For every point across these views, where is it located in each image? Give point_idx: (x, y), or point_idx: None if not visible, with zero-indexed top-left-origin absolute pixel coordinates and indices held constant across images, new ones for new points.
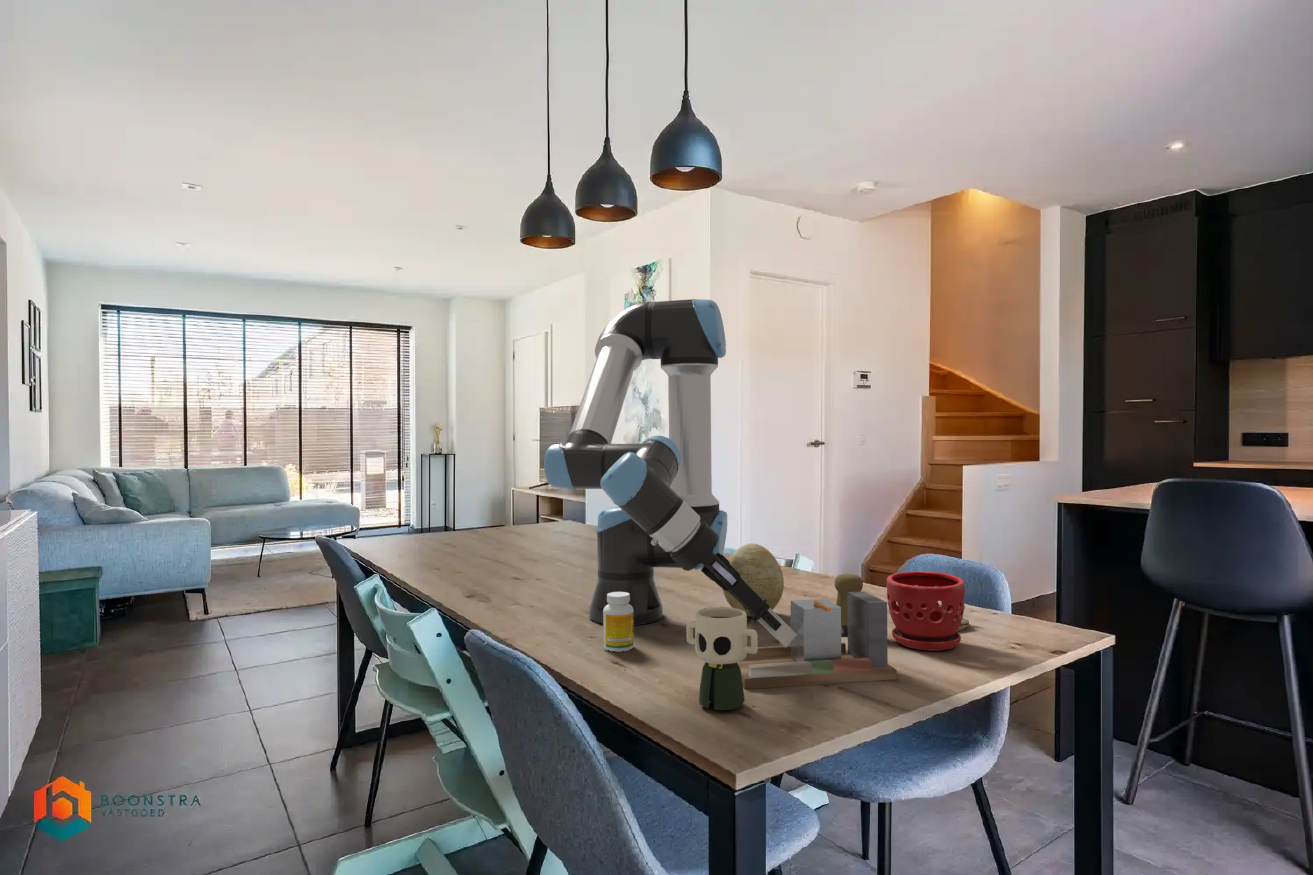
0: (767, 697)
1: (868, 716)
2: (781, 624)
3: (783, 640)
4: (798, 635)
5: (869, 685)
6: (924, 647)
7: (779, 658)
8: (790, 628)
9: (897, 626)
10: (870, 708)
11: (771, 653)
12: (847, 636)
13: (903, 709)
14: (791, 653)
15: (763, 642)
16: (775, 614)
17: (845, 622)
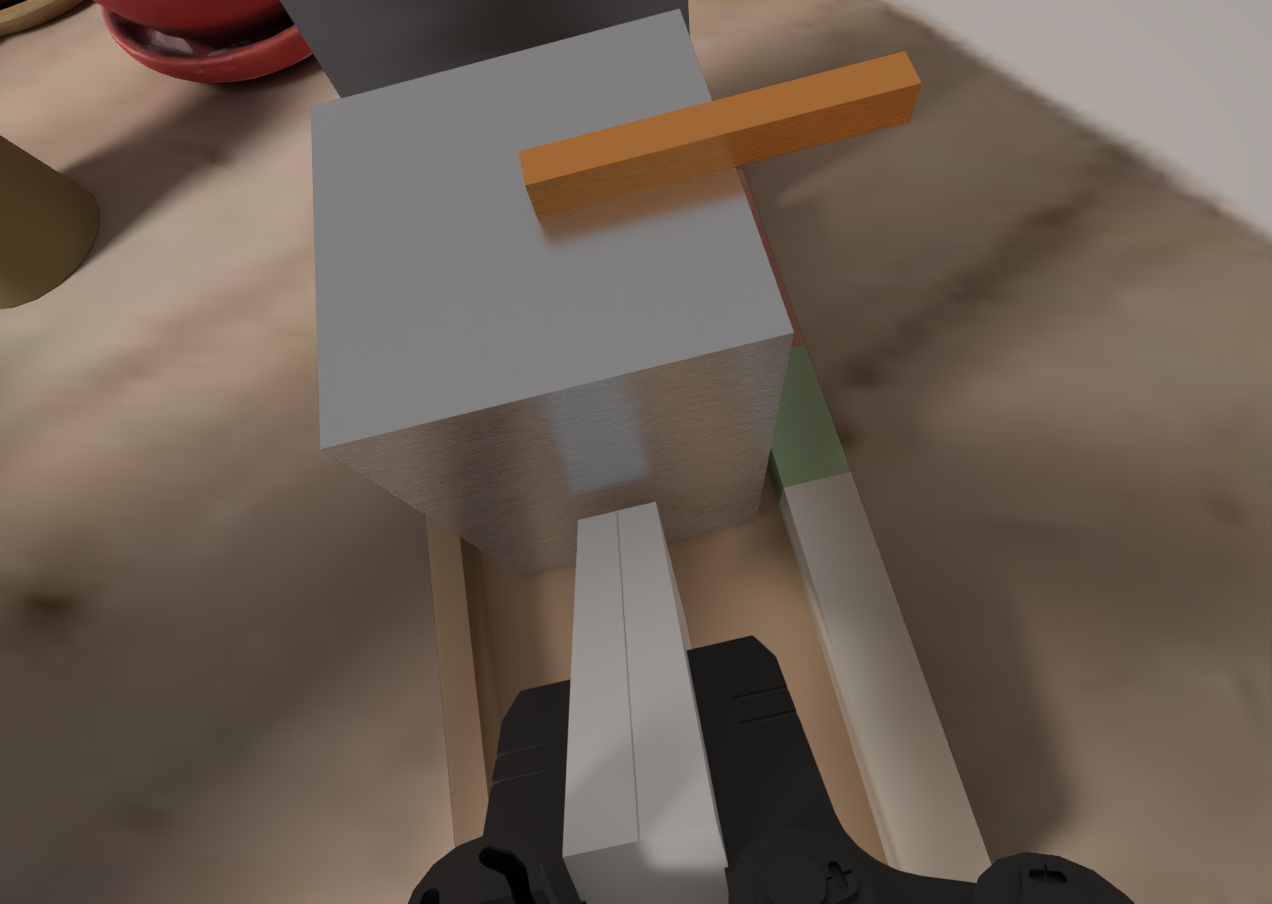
0: (1121, 807)
1: (1261, 308)
2: (757, 639)
3: (686, 628)
4: (643, 493)
5: (809, 253)
6: None
7: (532, 654)
8: (663, 546)
9: (209, 10)
10: (1141, 287)
11: (491, 706)
12: (85, 255)
13: (1111, 170)
14: (528, 570)
15: (47, 703)
16: (693, 701)
17: (6, 216)
